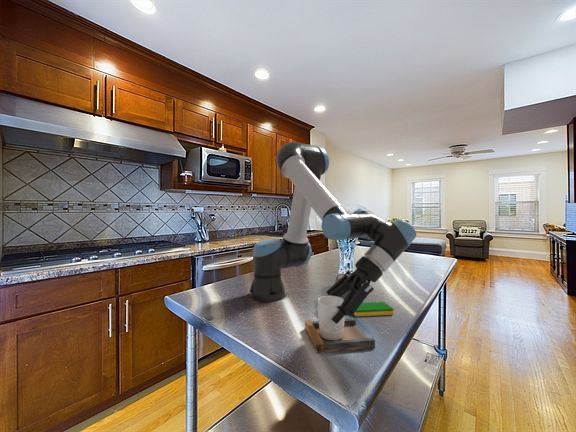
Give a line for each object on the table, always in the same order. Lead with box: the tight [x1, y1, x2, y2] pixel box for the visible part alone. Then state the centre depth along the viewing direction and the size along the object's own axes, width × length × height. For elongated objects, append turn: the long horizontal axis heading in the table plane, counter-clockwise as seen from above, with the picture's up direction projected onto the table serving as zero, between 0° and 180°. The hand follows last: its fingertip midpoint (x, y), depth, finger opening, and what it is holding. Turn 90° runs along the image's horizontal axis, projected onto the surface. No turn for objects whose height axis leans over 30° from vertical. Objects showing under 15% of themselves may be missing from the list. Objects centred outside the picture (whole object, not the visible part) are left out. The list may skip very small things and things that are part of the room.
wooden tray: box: [304, 317, 376, 354], centre depth 74 cm, size 16×13×3 cm
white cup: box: [317, 295, 346, 340], centre depth 73 cm, size 8×8×10 cm
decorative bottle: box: [334, 273, 350, 299], centre depth 118 cm, size 26×8×7 cm, turn 165°
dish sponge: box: [353, 301, 394, 317], centre depth 93 cm, size 7×14×2 cm, turn 96°
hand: (319, 322), depth 73 cm, fingers closed on white cup, 8 cm apart
